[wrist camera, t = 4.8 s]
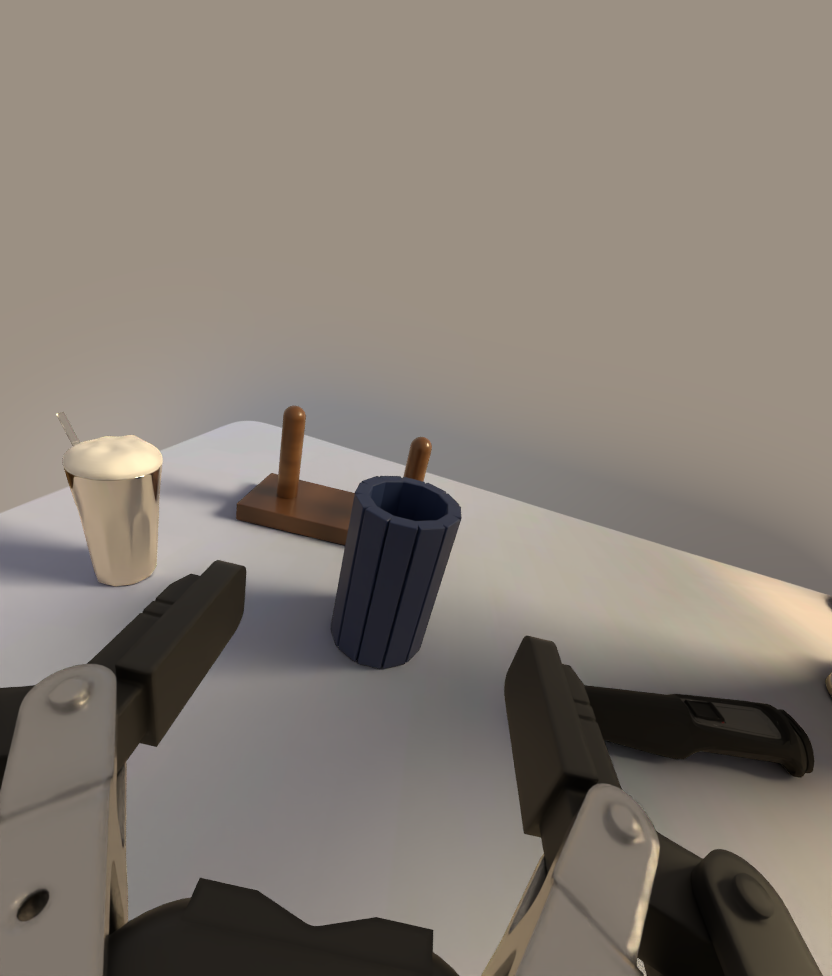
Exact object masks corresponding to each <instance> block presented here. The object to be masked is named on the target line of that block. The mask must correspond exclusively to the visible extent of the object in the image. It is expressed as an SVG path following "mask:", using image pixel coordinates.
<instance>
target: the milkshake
mask: <svg viewBox="0 0 832 976" xmlns="http://www.w3.org/2000/svg"><path fill="white" fill-rule="evenodd" d="M56 415H57V417H58V419H59V421H60V423H61V425H62V426H63V428H64V430H65V432H66V434H67V436H68V438H69V440H70V442H71V444H72V446H73V447H71V448H70V449H69V450H68V451H66V453H65V454H64V456H63V460H62V463H63V466H64V470H65V473H66V476H67V480H68V483H69V486H70V489H71V492H72V495H73V499H74V502H75V504H76V507H77V509H78V512H79V516H80V519H81V523H82V527H83V531H84V534H85V538H86V542H87V546H88V550H89V553H90V557H91V561H92V565H93V568H94V572H95V574H96V577H97V579H98V581H99V582H100V583H104V584H107V585H111V586H123V585H131V584H135V583H137V582H139V581H142V580H144V579H146V578H148V577H150V576H151V574H152V573H153V571H154V570H155V568H156V566H157V548H158V524H159V499H160V485H161V473H162V455H161V453H160V451H159V450H158V449H157V448H156V447H154V446H153V445H152V444H150V443H148V442H145V441H143V440H142V439H140V438H138V437H136V436H134V435H126V436H123V437H113V436H105V437H101V438H98V439H94V440H89V441H84V442H81V443H80V442H79V440H78V438H77V436H76V434H75V432H74V430H73V428H72V426H71V424H70V423H69V420H68V418H67V416H66V415H65V413H64V412H62V413H57V414H56Z"/></svg>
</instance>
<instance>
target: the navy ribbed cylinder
mask: <svg viewBox="0 0 832 976" xmlns="http://www.w3.org/2000/svg"><path fill="white" fill-rule="evenodd" d="M460 521H461V507H460V506H459V504H458V503H457V502H456V501H455V500H454V499H453V498H452V497H451V496H450V495H449V494H446V491H443V490H441V489H439V488H437V487H435V486H433V485H431V484H429V483H426V484H425V482H423V481H419V480H415V479H411V478H407V477H403V478H401V477H400V476H380V477H378V476H376V477H373V478H370V479H367V480H364V481H362V482H361V483H360V484H359V486H358V488H357V489H356V491H355V494H354V500H353V505H352V511H351V517H350V522H349V528H348V533H347V539H346V544H345V550H344V555H343V561H342V567H341V572H340V578H339V583H338V589H337V594H336V600H335V606H334V611H333V617H332V622H331V632H332V635H333V638H334V641H335V644H336V646H338V648H339V649H340V650H341V651H342V652H343V653H344V654H346V655H347V656H348V657H349V658H350V659H352V660H353V661H354V662H355V661H356V660H357V659H358V664H362V665H366V666H370V667H375V668H379V669H380V668H381V665H382V667H383V669H386V668H390V667H394V666H398V665H403V664H405V662H408V661H409V660H410V659H411V658H412V657H413V656H414V655H415V654H416V653H417V652H418V651H419V649H420V647H421V644H422V640H423V637H424V634H425V631H426V628H427V625H428V622H429V618H430V615H431V612H432V609H433V606H434V603H435V600H436V596H437V593H438V590H439V587H440V584H441V581H442V578H443V574H444V571H445V568H446V565H447V562H448V559H449V556H450V552H451V549H452V546H453V543H454V540H455V537H456V534H457V530H458V527H459V524H460Z"/></svg>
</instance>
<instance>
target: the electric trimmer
mask: <svg viewBox="0 0 832 976" xmlns="http://www.w3.org/2000/svg"><path fill="white" fill-rule="evenodd" d="M584 687H585V690H586V693H587V695H588V698H589V701H590V706H591V707H592V709H593V712H594V715H595V717H596V723H598V726H599V728H600V731H601V734H602V737H603V739H604V740H606V741H610V742H614V743H617V744H621V745H624V746H628V747H631V748H635V749H639V750H642V751H646V752H649V753H653V754H657V755H661V756H665V757H669V758H673V759H685V758H687V757H688V756H690V755H692V754H694V753H696V752H699V751H704V752H711V753H717V754H724V755H731V756H737V757H744V758H751V759H757V760H764V761H771V762H777V763H781V764H782V766H783V767H784V768H785V769H786V770H787V771H788V772H789V773H790V774H791V775H792V776H795V777H802V776H804V774H805V773H811V772H812V771H813V766H814V755H813V749H812V745H811V742H810V740H809V738H808V736H807V734H806V733H805V731H804V730H803V729H802V728H801V727H800V725H799V724H798V723H797V722H796V721H795V720H794V719H793V718H792V717H791V716H790V715H789V714H788V713H787V712H786V711H784V710H777V709H776V708H775V707H773V706H771V705H768V704H764V703H754V702H748V701H740V700H730V699H721V698H711V697H702V696H692V695H681V694H669V695H664V694H655V693H647V692H638V691H629V690H620V689H612V688H603V687H594V686H585V685H584Z"/></svg>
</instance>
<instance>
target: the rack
mask: <svg viewBox="0 0 832 976" xmlns="http://www.w3.org/2000/svg"><path fill="white" fill-rule="evenodd" d="M305 420H306V415H305V412H304V411H303V410H302V409H301V408H300V407H298V406H290V407H288V408H287V409H286V410H285V412H284V415H283V427H282V439H281V450H280V462H279V474H278V475H277V474H273V473H271V474H270V475H269V476H267V477H266V478H265V479H264V480H263V481H262V482H261V483H260V484H258V485H257V486H256V487H255V488H254V489H253V490H252V491H251V492H249V493H248V494H247V495H246V496H245V497H244V498H243V499H242V500H240V501H239V502H238V503H237V512H236V519H237V520H241V521H246V522H250V523H254V524H258V525H262V526H267V527H271V528H275V529H279V530H283V531H287V532H292V533H296V534H300V535H304V536H308V537H312V538H317V539H321V540H325V541H329V542H333V543H337V544H342V545H345V544H346V539H347V533H348V528H349V522H350V517H351V511H352V505H353V500H354V494H355V493H352V492H347V491H343V490H339V489H335V488H331V487H327V486H323V485H319V484H314V483H310V482H306V481H302V480H299V474H300V465H301V456H302V447H303V438H304V429H305ZM431 450H432V445H431V443H430V441H429V440H428V439H426V438H424V437H418V438H416V439H414V440H413V442H412V443H411V447H410V451H409V455H408V460H407V464H406V468H405V472H404V477H407V478H411V479H415V480H419V481H424V477H425V473H426V469H427V465H428V461H429V458H430V454H431Z"/></svg>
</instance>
